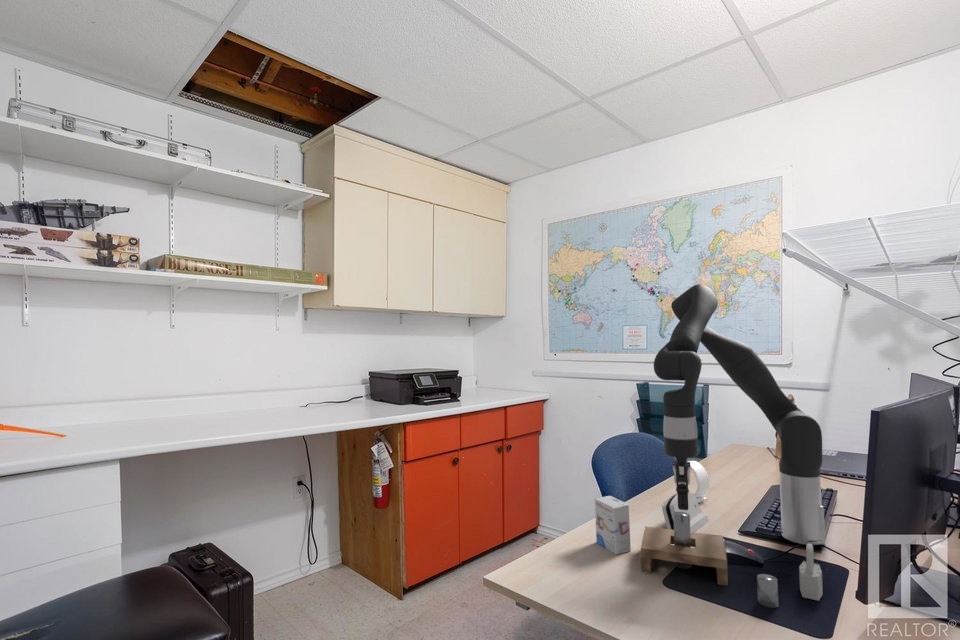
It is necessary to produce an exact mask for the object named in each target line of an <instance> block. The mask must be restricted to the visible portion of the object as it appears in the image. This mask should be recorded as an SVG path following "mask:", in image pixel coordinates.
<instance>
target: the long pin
mask: <svg viewBox="0 0 960 640" xmlns="http://www.w3.org/2000/svg"><path fill="white" fill-rule="evenodd" d="M673 545H676V546H683V547H691V536H690V514H688V513H686V512H674V544H673ZM691 548H692V547H691ZM674 566H675V567H677V568H679V569H682V570H688V569H691V568H692V564H687V563H680V562H674Z"/></svg>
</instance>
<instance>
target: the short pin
mask: <svg viewBox="0 0 960 640" xmlns="http://www.w3.org/2000/svg"><path fill="white" fill-rule="evenodd" d="M756 581H757V582H756V583H757V584H756V585H757V602H758V604H760V605H761V606H763V607H765V608H771V609H775V608H779V586H778V578H777V577H776V576H773V575H771V574H765V573H760V574H759V573H758V574H757V575H756Z"/></svg>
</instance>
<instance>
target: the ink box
mask: <svg viewBox="0 0 960 640" xmlns="http://www.w3.org/2000/svg"><path fill="white" fill-rule="evenodd" d="M594 507H595V508H594V511H595V514H594V515H595V532H596V533H595V535H596V536H595V537H596V538H595V539H596V540H595V541H596V544H598V545H600V546H602V547H604V548H605V549H607V550H608V551H610V552H612V553H614V554H615V555H620V554H624V553H628V552H631V550H632V548H631V530H630V529H631V528H630V527H631V526H630V505H629V504H628V503H626V502H625V501H622V500H620V499H618V498H616V497H614V496H613V495H607V496H606V495H605V496H602V497H601V496H600V497H597V498H595V499H594Z"/></svg>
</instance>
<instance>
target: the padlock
mask: <svg viewBox="0 0 960 640" xmlns="http://www.w3.org/2000/svg"><path fill="white" fill-rule="evenodd" d="M805 545H806V544H805ZM814 557H815V556H814V545H812V544H810V543H808V544H807V545H806V547H805V560H803V561H802V563H801V564H799V567H798V568H799V569H798V570H799V573H798V575H799V590H800V594H801V597H802V598H805V599H810V600H814V601H818V602H819V601H820V599H821V598H822V596H823V590H824V589H823V571H822V569H821V566H820V564H818V563H815V562H814V561H815V560H814Z"/></svg>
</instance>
